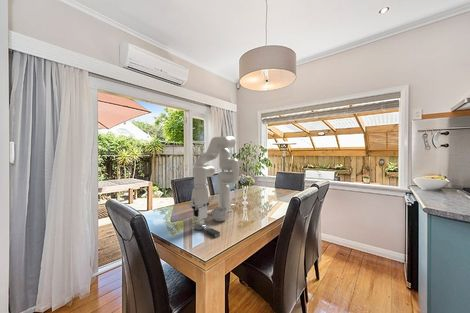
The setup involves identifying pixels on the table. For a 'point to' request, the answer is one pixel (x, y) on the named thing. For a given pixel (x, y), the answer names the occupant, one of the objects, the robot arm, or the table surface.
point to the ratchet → (205, 229)
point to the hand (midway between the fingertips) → (200, 214)
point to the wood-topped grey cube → (201, 212)
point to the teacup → (219, 213)
